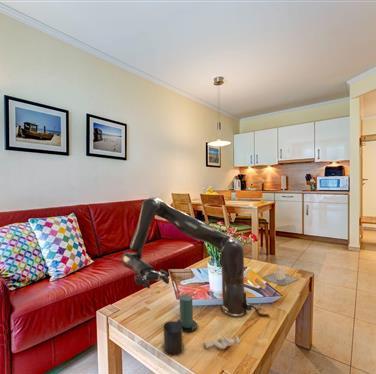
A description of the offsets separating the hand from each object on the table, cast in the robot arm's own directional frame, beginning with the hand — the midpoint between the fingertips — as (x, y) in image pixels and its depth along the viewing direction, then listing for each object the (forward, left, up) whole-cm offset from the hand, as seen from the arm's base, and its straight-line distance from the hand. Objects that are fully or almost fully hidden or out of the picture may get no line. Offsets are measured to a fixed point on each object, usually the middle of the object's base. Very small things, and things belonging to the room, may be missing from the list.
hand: (158, 283), depth 95 cm
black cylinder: (-3, +11, -19) cm, 22 cm away
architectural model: (-78, -38, -19) cm, 89 cm away
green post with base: (-11, -1, -19) cm, 22 cm away
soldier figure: (-20, +12, -19) cm, 31 cm away
